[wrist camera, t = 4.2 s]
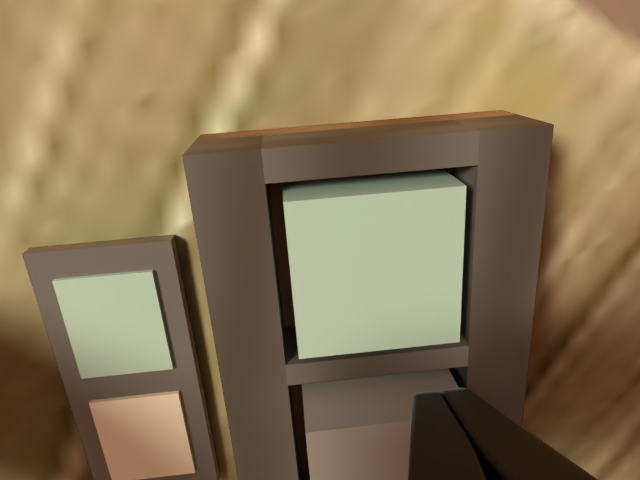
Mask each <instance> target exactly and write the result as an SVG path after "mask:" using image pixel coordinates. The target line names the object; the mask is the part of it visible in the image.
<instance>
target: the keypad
mask: <svg viewBox="0 0 640 480" xmlns="http://www.w3.org/2000/svg"><path fill="white" fill-rule="evenodd" d="M553 128H554V125H553V124H550V123H546V122H543V121H539V120H535V119H532V118H528V117H524V116H521V115H517V114H514V113H510V112H506V111H503V110H498V111H486V112H474V113H462V114H449V115H437V116H425V117H413V118H400V119H388V120H376V121H364V122H351V123H339V124H327V125H315V126H302V127H290V128H278V129H266V130H253V131H241V132H229V133H217V134H204V135H200V136H199V137H198V138H197V140H196V141H195V142H194V143H193V144H192V145H191V146H190V148H189V149H188V150H187V151H186V152H185V153H184V154H183V155H182V157H183V162H184V168H185V174H186V180H187V186H188V191H189V197H190V203H191V209H192V215H193V220H194V226H195V232H196V238H197V243H198V249H199V255H200V261H201V267H202V272H203V278H204V284H205V290H206V296H207V301H208V307H209V313H210V319H211V324H212V330H213V336H214V342H215V348H216V353H217V359H218V365H219V371H220V377H221V382H222V388H223V394H224V400H225V406H226V411H227V417H228V423H229V429H230V434H231V440H232V446H233V452H234V458H235V463H236V469H237V475H238V480H310V473H309V463H308V453H307V443H306V433H305V420H304V407H303V393H302V384H311V383H320V382H329V381H339V380H348V379H357V378H366V377H375V376H385V375H394V374H403V373H412V372H422V371H431V370H440V369H449V371H450V372H451V374H452V376H453V378H454V380H455V382H456V384H457V385H458V387H459V388H467V389H469V390H471V391H472V392H473V393H475V394H476V395H478V396H479V397H481V398H482V399H483V400H485V401H486V402H488V403H489V404H491V405H492V406H493V407H495V408H496V409H498V410H499V411H500V412H502V413H503V414H505V415H506V416H508V417H509V418H510V419H512V420H513V421H515V422H516V423H518V424H519V425H520V426H522V421H523V412H524V402H525V393H526V383H527V374H528V364H529V355H530V345H531V336H532V326H533V317H534V307H535V298H536V288H537V279H538V270H539V260H540V251H541V241H542V232H543V222H544V213H545V203H546V194H547V184H548V175H549V165H550V156H551V146H552V137H553ZM441 168H443V169H444V170H445V171H447V172H448V173H450V174H451V175H452V176H454V177H455V178H456V179H458V180H459V181H461V182H462V183H463V184H465V185H466V209H465V232H464V256H463V279H462V302H461V325H460V342H456V343H447V344H437V345H428V346H418V347H409V348H399V349H390V350H380V351H371V352H362V353H352V354H343V355H333V356H324V357H314V358H305V359H299V356H298V346H297V336H296V326H295V316H294V306H293V296H292V286H291V276H290V266H289V256H288V246H287V236H286V226H285V216H284V206H283V186H282V182H292V181H303V180H315V179H326V178H338V177H349V176H361V175H372V174H384V173H395V172H407V171H418V170H429V169H441Z"/></svg>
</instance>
